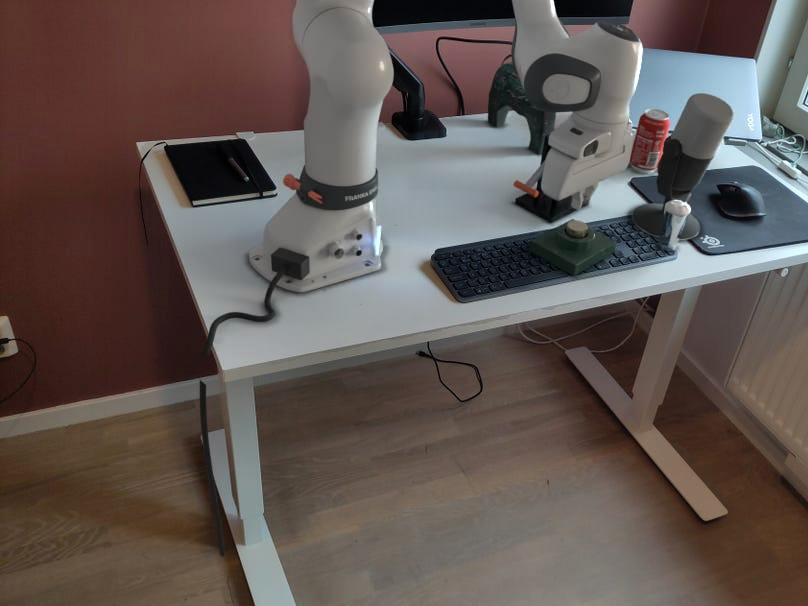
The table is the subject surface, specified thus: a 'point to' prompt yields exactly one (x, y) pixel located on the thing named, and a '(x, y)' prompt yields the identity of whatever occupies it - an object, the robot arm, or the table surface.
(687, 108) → the microphone
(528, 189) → the switch lever
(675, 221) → the milkshake
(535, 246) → the button housing
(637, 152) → the beverage can
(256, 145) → the table surface
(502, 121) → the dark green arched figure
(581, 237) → the button
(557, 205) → the switch bracket
